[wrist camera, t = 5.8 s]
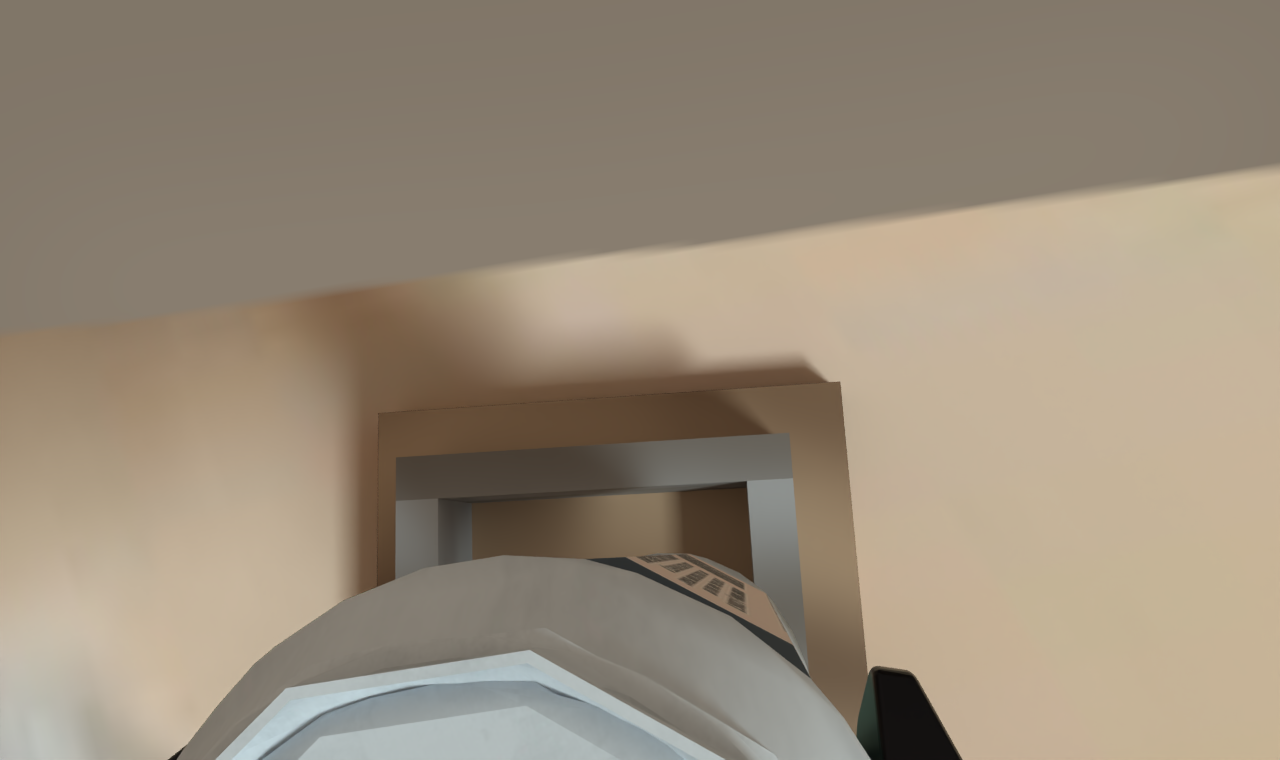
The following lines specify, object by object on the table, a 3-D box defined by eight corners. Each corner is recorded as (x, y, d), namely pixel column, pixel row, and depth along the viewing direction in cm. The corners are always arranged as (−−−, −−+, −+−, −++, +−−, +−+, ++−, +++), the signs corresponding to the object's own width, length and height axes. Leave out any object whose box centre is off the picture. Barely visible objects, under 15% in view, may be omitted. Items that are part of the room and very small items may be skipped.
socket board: (882, 890, 20) (910, 960, 17) (391, 893, 22) (324, 960, 18) (836, 388, 23) (852, 361, 19) (393, 418, 24) (335, 397, 21)
